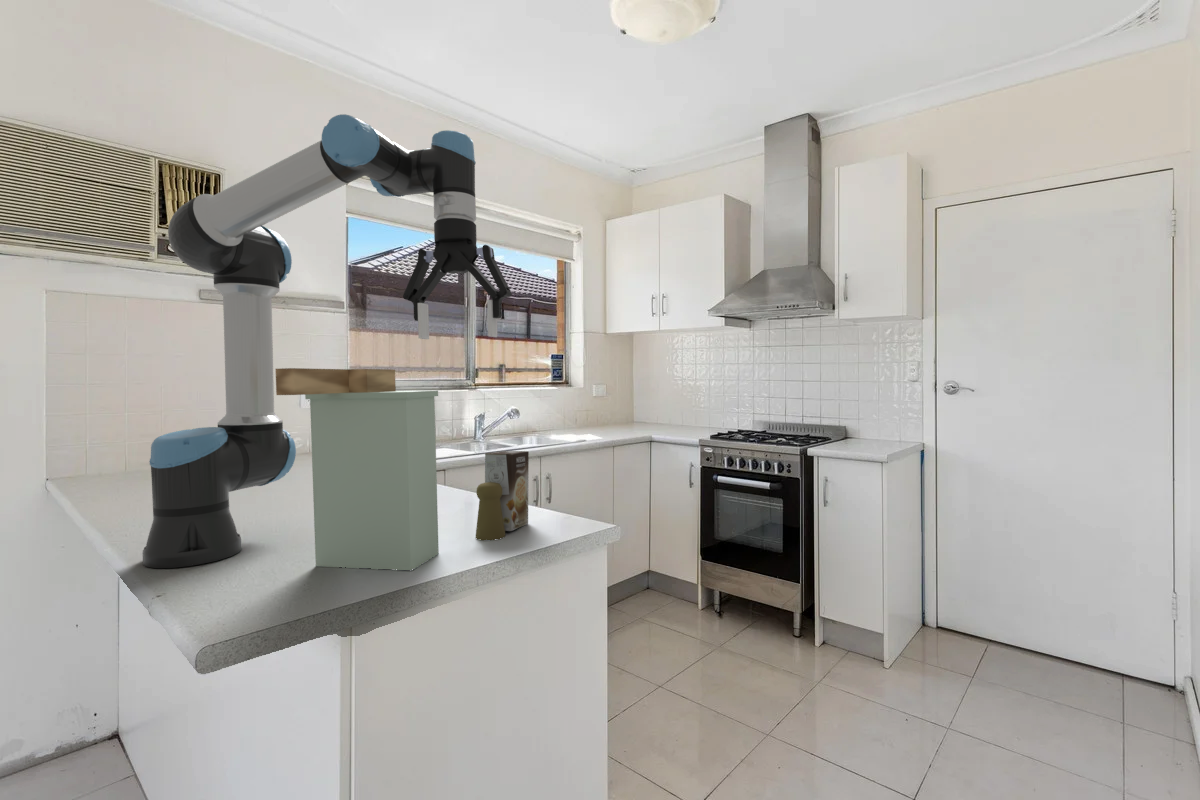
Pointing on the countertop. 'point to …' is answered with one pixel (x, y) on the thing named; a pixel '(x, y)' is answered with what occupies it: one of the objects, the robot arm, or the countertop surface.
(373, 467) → the sage green shelf box
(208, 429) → the robot arm
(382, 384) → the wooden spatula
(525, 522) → the coffee box
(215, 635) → the countertop surface
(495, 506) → the cork
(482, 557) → the countertop surface
